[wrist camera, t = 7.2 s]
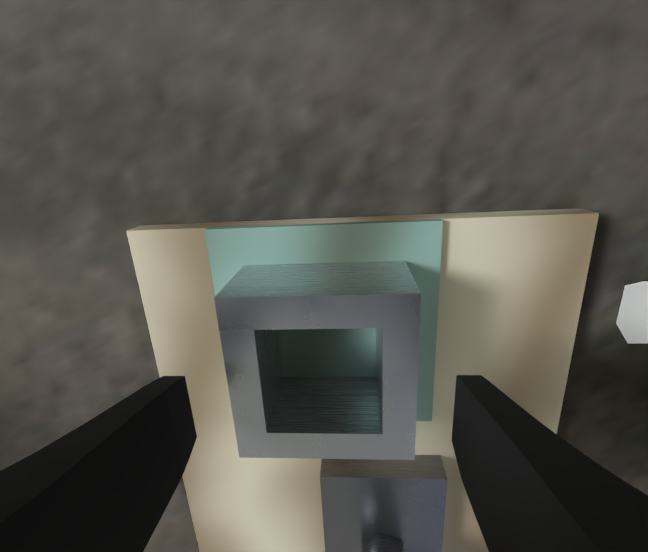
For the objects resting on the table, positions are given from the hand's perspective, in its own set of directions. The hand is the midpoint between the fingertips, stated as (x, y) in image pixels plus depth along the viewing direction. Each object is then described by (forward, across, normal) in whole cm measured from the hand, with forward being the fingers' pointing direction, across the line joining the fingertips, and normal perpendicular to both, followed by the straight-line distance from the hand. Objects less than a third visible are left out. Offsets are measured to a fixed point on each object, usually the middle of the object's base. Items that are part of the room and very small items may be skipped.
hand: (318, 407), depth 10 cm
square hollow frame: (+4, 0, 0) cm, 4 cm away
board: (+5, -1, +6) cm, 8 cm away
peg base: (+5, -2, +10) cm, 11 cm away
